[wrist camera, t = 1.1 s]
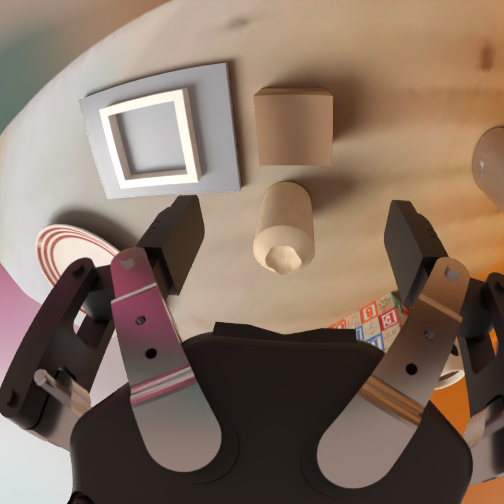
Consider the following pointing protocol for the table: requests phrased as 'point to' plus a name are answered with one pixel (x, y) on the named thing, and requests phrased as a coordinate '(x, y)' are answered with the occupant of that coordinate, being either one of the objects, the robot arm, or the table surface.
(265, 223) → the candle
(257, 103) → the walnut block
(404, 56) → the table surface
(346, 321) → the stack of blocks
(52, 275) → the dinner plate
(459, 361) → the character mug
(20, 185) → the table surface
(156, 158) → the baseplate
